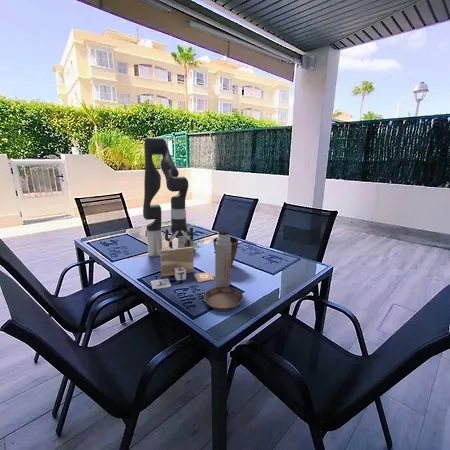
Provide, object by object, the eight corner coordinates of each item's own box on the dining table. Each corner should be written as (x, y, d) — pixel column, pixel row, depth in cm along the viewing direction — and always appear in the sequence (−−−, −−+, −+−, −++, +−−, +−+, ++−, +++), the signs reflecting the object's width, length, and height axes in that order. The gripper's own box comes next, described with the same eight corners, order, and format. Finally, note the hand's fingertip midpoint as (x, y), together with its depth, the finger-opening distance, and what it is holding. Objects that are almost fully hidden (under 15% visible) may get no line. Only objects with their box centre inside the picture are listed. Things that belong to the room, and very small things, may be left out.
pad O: (193, 275, 143) (193, 274, 143) (209, 272, 146) (209, 271, 146) (198, 282, 135) (198, 281, 135) (214, 279, 138) (214, 278, 138)
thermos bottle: (233, 284, 133) (235, 232, 126) (220, 288, 129) (221, 235, 121) (224, 278, 139) (225, 228, 132) (212, 282, 135) (212, 231, 128)
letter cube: (174, 276, 141) (174, 267, 140) (183, 275, 143) (183, 266, 141) (176, 280, 136) (176, 271, 135) (186, 279, 138) (185, 270, 137)
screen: (160, 272, 145) (159, 249, 141) (192, 268, 151) (191, 245, 148) (162, 276, 140) (160, 252, 137) (194, 271, 147) (194, 248, 143)
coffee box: (186, 247, 186) (186, 225, 182) (193, 248, 183) (193, 226, 179) (177, 250, 179) (177, 228, 175) (184, 252, 176) (184, 229, 171)
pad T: (150, 281, 134) (150, 280, 134) (168, 279, 138) (168, 278, 137) (152, 290, 126) (152, 288, 126) (171, 286, 130) (171, 285, 129)
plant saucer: (218, 318, 106) (218, 312, 105) (196, 299, 119) (196, 293, 119) (250, 305, 116) (251, 298, 115) (227, 288, 130) (227, 283, 129)
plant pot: (229, 272, 147) (230, 246, 142) (208, 266, 154) (208, 241, 150) (242, 264, 159) (243, 239, 155) (221, 258, 166) (221, 234, 162)
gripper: (190, 214, 137) (191, 243, 141) (163, 216, 132) (164, 246, 136) (194, 217, 130) (194, 248, 134) (165, 219, 125) (166, 251, 129)
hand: (179, 247), depth 135 cm, fingers open, 8 cm apart
